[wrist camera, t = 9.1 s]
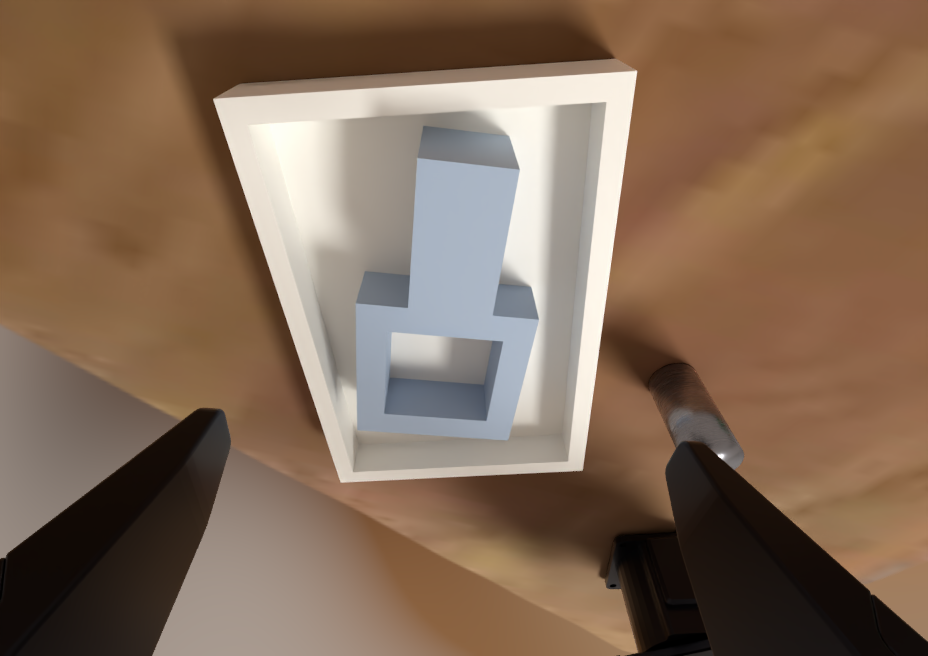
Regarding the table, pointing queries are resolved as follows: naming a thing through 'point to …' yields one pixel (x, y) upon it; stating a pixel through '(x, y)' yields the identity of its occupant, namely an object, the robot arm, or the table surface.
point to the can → (692, 412)
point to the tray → (391, 229)
